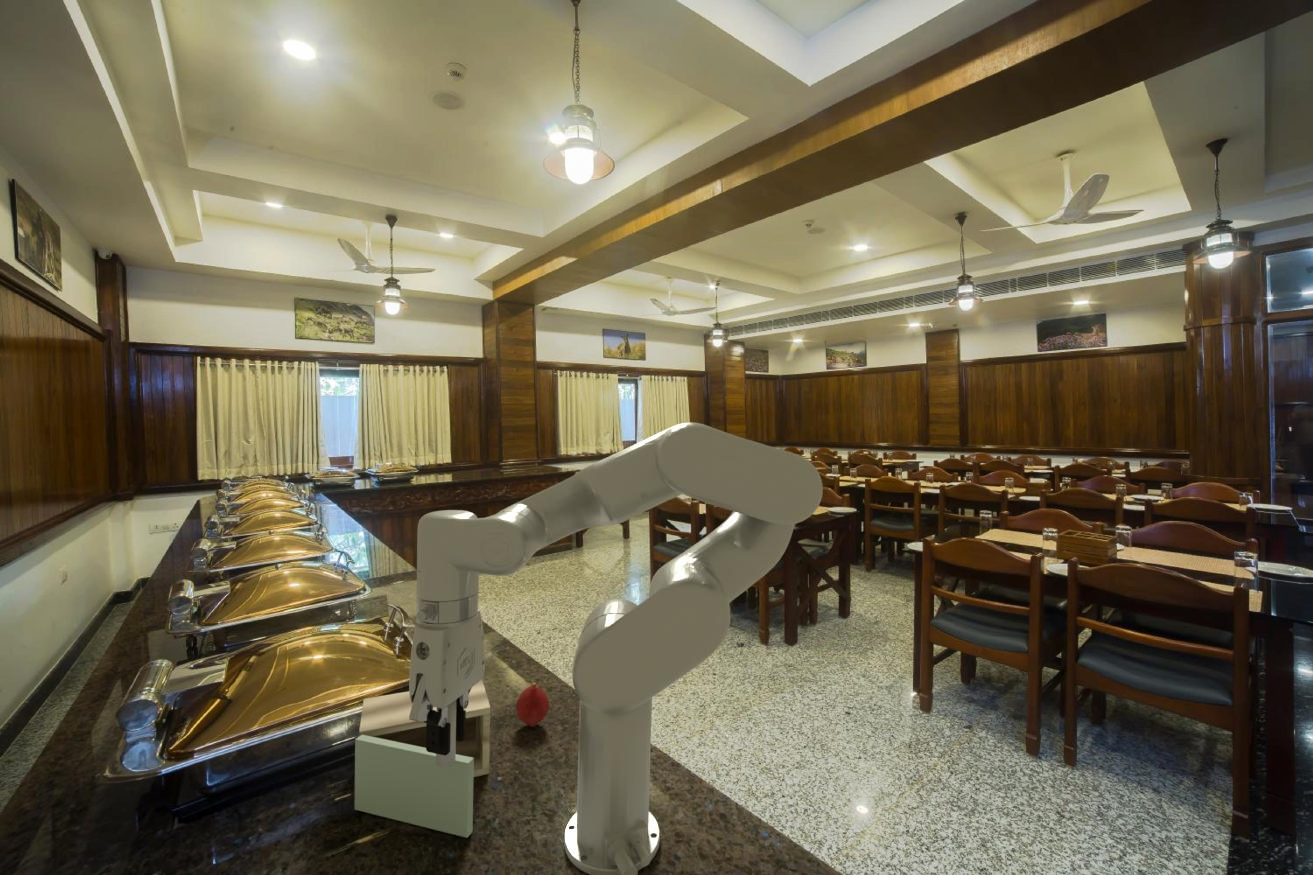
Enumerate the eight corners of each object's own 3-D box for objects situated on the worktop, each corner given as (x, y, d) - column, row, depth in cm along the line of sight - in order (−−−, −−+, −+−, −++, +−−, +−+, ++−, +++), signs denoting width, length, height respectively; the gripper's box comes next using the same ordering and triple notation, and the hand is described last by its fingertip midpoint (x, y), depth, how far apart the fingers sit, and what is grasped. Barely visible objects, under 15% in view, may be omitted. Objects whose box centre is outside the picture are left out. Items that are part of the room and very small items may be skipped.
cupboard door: (459, 847, 70) (461, 709, 70) (344, 818, 75) (345, 688, 74) (472, 831, 73) (474, 698, 73) (361, 803, 78) (362, 678, 77)
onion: (508, 729, 98) (509, 685, 98) (530, 714, 103) (531, 672, 103) (534, 738, 95) (535, 693, 95) (555, 722, 100) (556, 679, 100)
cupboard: (489, 773, 86) (490, 707, 85) (358, 804, 78) (359, 731, 78) (480, 738, 95) (482, 679, 94) (363, 763, 87) (363, 698, 87)
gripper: (431, 632, 62) (429, 790, 63) (506, 591, 78) (504, 718, 79) (377, 624, 64) (375, 777, 65) (460, 585, 80) (458, 709, 81)
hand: (446, 744), depth 72 cm, fingers closed on cupboard door, 2 cm apart
